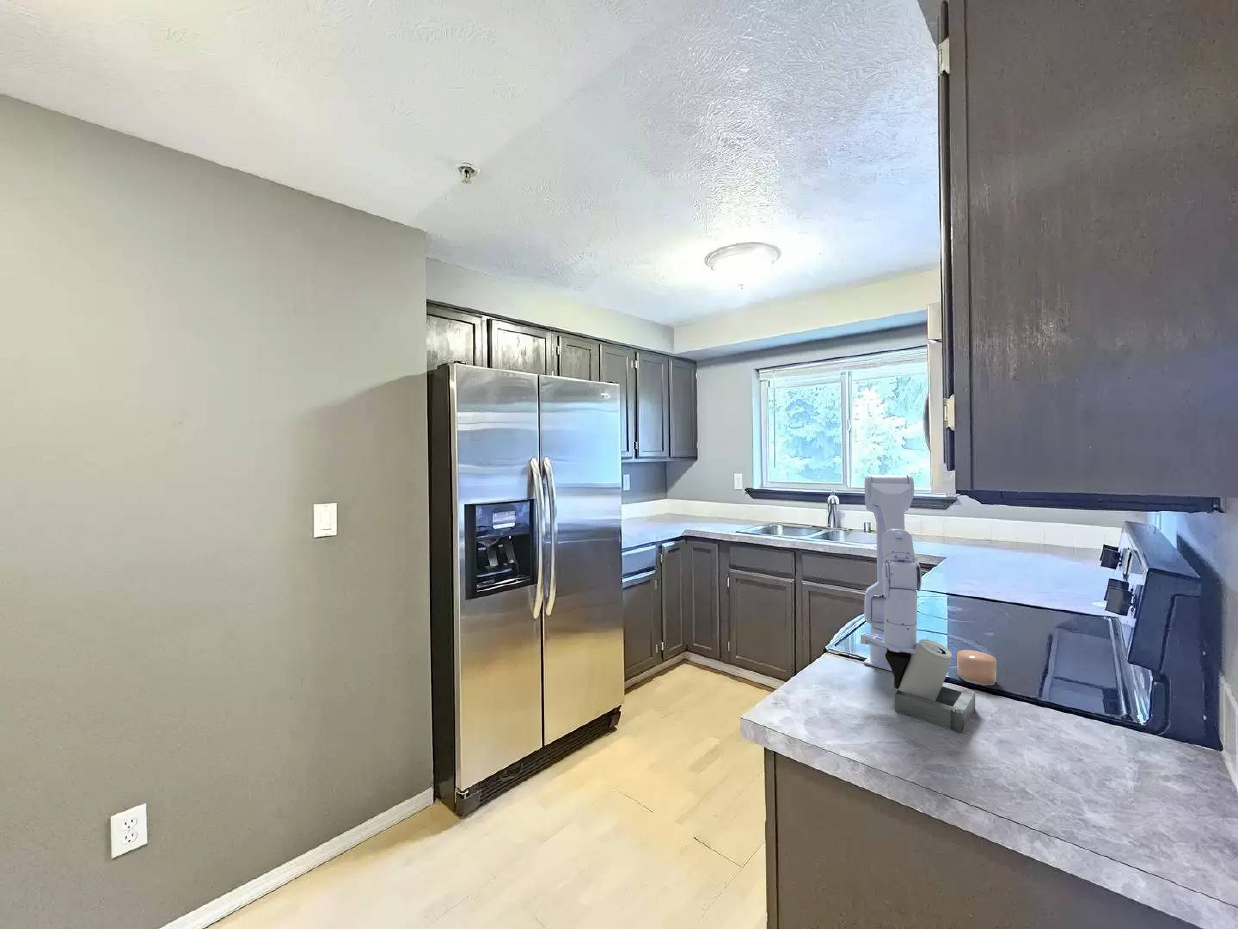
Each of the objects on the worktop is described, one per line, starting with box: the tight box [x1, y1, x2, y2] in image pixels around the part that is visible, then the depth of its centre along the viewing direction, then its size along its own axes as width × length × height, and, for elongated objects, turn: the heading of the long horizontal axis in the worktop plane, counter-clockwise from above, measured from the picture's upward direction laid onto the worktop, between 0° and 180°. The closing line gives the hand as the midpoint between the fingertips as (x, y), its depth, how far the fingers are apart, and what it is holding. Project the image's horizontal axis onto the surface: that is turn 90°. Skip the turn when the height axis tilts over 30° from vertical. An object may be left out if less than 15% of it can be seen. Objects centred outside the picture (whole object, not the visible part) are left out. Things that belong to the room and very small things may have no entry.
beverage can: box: [897, 638, 953, 701], centre depth 101 cm, size 6×6×12 cm
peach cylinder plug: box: [956, 649, 997, 684], centre depth 114 cm, size 7×7×5 cm
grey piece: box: [894, 682, 976, 734], centre depth 101 cm, size 11×11×4 cm
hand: (899, 687), depth 105 cm, fingers closed
